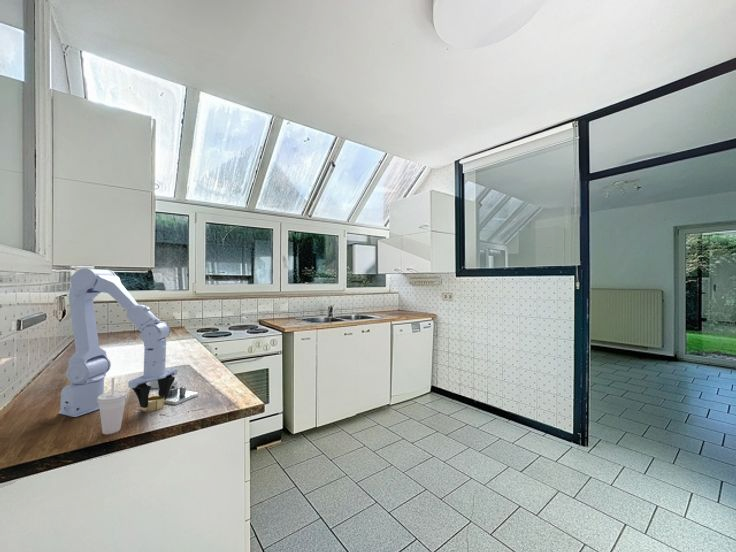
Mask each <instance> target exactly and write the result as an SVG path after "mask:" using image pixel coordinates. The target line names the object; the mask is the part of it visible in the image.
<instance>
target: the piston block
mask: <svg viewBox="0 0 736 552" xmlns="http://www.w3.org/2000/svg"><path fill="white" fill-rule="evenodd" d="M157 395H159V389H158V393H157ZM198 396H199V392H197V391H189V390H187V388H186V386H180V387H179V385H176V384H175V385H171V387H170V389H169V392H168V394H167V398H166V400H164V404H166V405H167V404H168V405H173V406H177V405H179V404H182V403H184V402H186V401H189V400H191V399H193V398H195V397H198Z"/></svg>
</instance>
